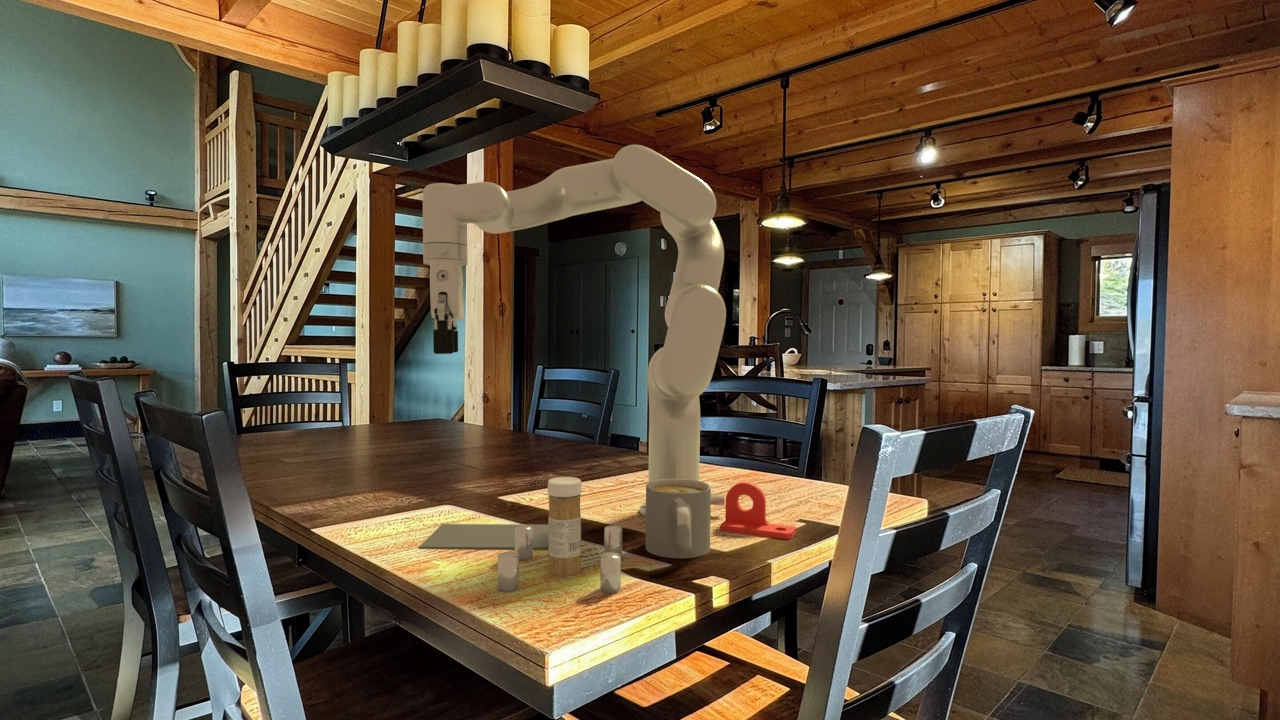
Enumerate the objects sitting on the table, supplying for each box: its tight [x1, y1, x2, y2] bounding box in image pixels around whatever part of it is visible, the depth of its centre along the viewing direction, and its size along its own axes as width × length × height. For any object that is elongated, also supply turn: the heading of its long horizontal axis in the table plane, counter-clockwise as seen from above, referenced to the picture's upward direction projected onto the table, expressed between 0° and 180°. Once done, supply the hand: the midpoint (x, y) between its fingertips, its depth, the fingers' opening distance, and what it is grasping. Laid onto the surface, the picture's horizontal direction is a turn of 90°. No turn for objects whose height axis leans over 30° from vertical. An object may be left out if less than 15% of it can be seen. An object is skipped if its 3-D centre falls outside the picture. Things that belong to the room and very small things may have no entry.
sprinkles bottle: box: [547, 476, 582, 579], centre depth 89 cm, size 5×5×14 cm
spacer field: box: [497, 524, 623, 594], centre depth 90 cm, size 16×16×5 cm
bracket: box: [719, 481, 797, 540], centre depth 111 cm, size 12×4×8 cm, turn 67°
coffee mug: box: [645, 479, 712, 559], centre depth 99 cm, size 13×10×10 cm
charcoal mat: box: [418, 523, 548, 551], centre depth 105 cm, size 20×12×1 cm, turn 91°
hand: (446, 352), depth 116 cm, fingers open, 9 cm apart
